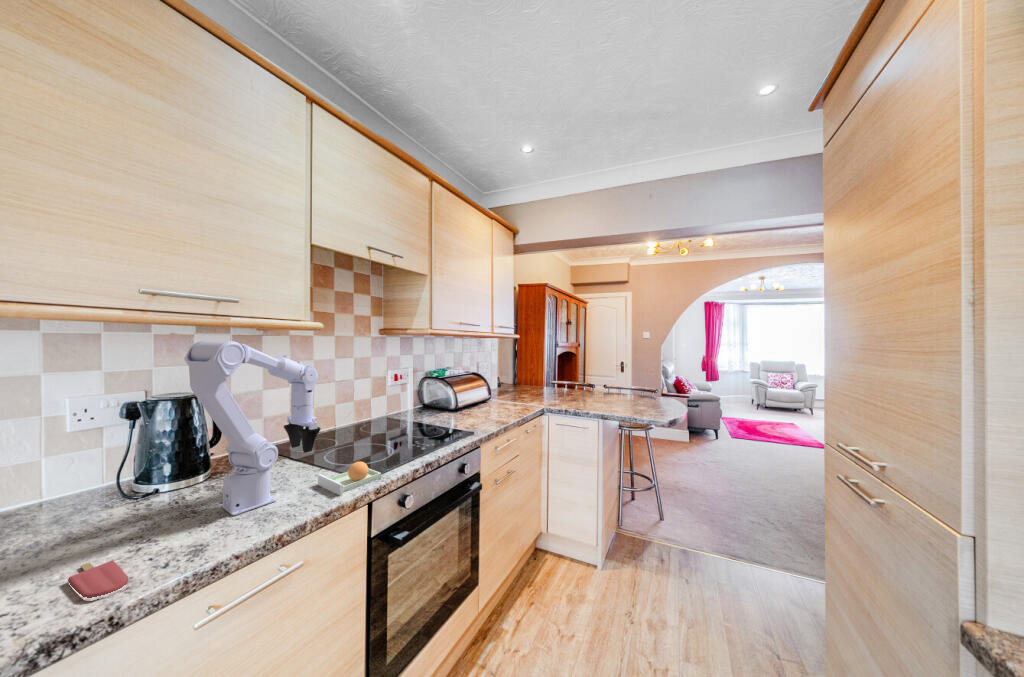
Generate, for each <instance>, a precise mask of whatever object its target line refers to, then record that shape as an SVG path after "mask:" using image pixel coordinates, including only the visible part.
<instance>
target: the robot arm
mask: <svg viewBox="0 0 1024 677" xmlns="http://www.w3.org/2000/svg"><path fill="white" fill-rule="evenodd" d="M184 361H185V362H186V364H187V365H188V370H189V372H188V375H189V387H190V389H191V391H192V393H193V394H194V395H195V397H196V398H197V399H198V401H199V402H200V404H201V405H202V406H203V408H204V410H205V411H206V412H207V414H208V415H209V417H210V418H211V419H212V421H213V422H214V423H215V425H216V427H217V428H218V429H219V431H220V432H221V433H222V435H223V436H224V437H225V439H226V440H227V443H228V444H227V445H226V447H225V451H226V452H227V453H228V455H227V456H228V462H229V464H230V465H231V466H233V467H234V468H233V470H234V471H235V472H233V473H232V474H230V475H227V476H224V478H223V482H222V504H221V508H223V509H224V510H225V511H226V512H227V513H229V514H230V515H231V516H237V515H240V514H243V513H245V512H248V511H251V510H253V509H257V508H259V507H262V506H266V505H268V504H271V503H275V502H277V498H276V497H274V496H272V495H271V469H272V468H273V465H275V463H276V462H277V459H278V456H279V450H278V449H279V448H278V447H277V446H276V445H274V444H272V443H270V442H269V441H268V439H267V438H265V437H264V436H262V435H260V434H258V433H256V430H255V429H254V428H253V426H252V424H251V423H250V421H249V420H248V418H247V417H246V415H245V413H243V410H242V408H241V407H240V406H239V405H238V403H237V401H236V400H235V398H234V397H233V395H232V393H231V392H230V391H229V390H230V389H228V387H227V386H226V383H227V381H228V380H229V379H230V378H231V376H232V375H233V374H234V373H235V372H236V370H238V368H239V367H240V365H241V364H250V365H254V366H257V367H259V368H264V369H267V371H268V374H270V375H271V376H272V377H276V378H279V379H282V380H285V381H287V383H288V384H290V386H291V387H290V388H291V389H290V392H291V393H290V397H291V398H290V404H291V405H290V415H289V416H286V417H287V419H286V420H287V421H286V422H287V423H288V424H285V425H283V428H284V430H285V432H286V434H287V436H288V439H289V440H288V441H289V444H290V447H291V448H292V449H294V448H297V447H300V446H301V445H302V452H303V453H305V454H306V453H309V452H312V451H313V448H314V445H315V442H316V438H317V436H318V435H319V433H320V432H321V427H319V426H318V422H317V421H316V420H317V419H318V417H317V416H314V390H315V388H316V382H317V381H318V378H319V373H318V371H317V369H316V368H315V367H314V366H312V365H304V364H303V362H302V361H295V360H293V359H290V356H289V355H280V356H279V355H278V356H275V357H273V356H270V355H269V354H266V353H264V352H262V351H260V350H257V349H256V348H253V347H250V346H249V345H247V344H244V343H239V342H237V341H233V340H230V341H229V340H228V341H218V340H217V341H216V340H215V341H214V340H213V341H212V340H211V341H210V340H199V341H196V342H193V344H191V346H190V347H189V348H188V350H187V353H186V354H185V357H184Z"/></svg>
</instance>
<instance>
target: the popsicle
mask: <svg viewBox="0 0 1024 677" xmlns="http://www.w3.org/2000/svg"><path fill="white" fill-rule="evenodd" d="M80 567H81V568H82V569H83V570H82V569H81V568H80V569H81V570H82V571H81V572H78V573H75V574H73V575H70V576H68V578H67V583H68V582H69V583H70V585H71V586H72V587H73V588H74V589H75V590H76V591H77V592H78V593H79V594H81V595H82V596H83V597H87V598H92V597H97V596H101V595H105V594H108V593H111V592H113V591H116V590H118V589H120V588H122V587H123V586H124V585H126V584H127V585H128V583H127V582H129V577H128V575H127V574H126V573H125V572H124V570H123V569H122V568H121V567H120V566H119V565H118V564H117V562H116V561H114V560H110V561H107V562H105V563H102V564H99V565H97V566H93V565H92V563H91V562H86V563H83V564H81V565H80Z"/></svg>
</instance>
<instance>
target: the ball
mask: <svg viewBox="0 0 1024 677" xmlns="http://www.w3.org/2000/svg"><path fill="white" fill-rule="evenodd" d="M368 468H369V466H368V465H367V463H366V462H364V461H355V462H354V463H352V464H351V465H350V466H349V468H348V470H347V472H348V476H349V478H350V479H351V480H353V481H359V480H362V479H364V478H365V477H366V476H367V474H368Z"/></svg>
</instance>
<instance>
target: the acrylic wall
mask: <svg viewBox="0 0 1024 677" xmlns="http://www.w3.org/2000/svg"><path fill="white" fill-rule="evenodd" d="M317 486H319V487H321V488H324V489H325V490H328V491H329V492H332V493H333V494H336V495H338V496H343V493H344V492H343V484H341V483H339V482H337V481H334V480H332V479H330V477H327V476H325V475H323V474H321V473H320V474H317Z"/></svg>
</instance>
